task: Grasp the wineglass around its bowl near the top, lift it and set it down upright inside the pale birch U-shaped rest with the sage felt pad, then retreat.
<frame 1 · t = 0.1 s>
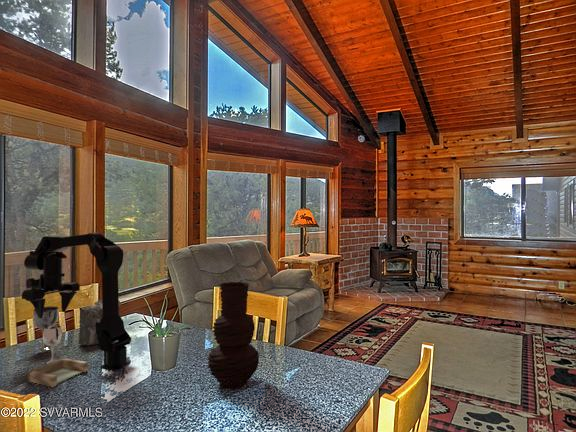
hand: (52, 314, 138), 14 cm above the table, fingers open, 9 cm apart
vase: (233, 384, 116), on the table
wine glass: (45, 349, 144), on the table
rock: (104, 339, 157), on the table
u rest: (58, 376, 120), on the table
wineglass: (52, 363, 131), on the table
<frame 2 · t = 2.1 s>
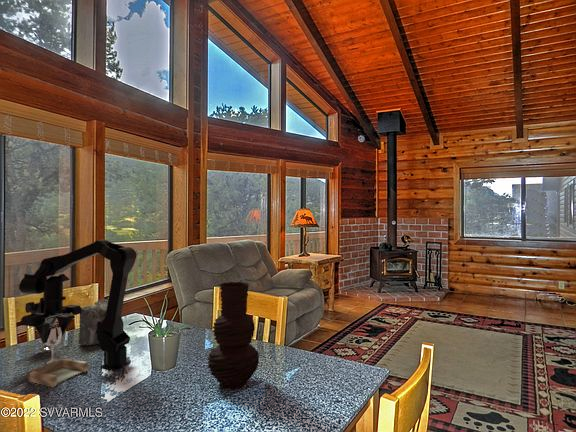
hand: (52, 340, 131), 8 cm above the table, fingers closed on wineglass, 6 cm apart
wineglass: (52, 363, 131), on the table, touching gripper
everything else where it was.
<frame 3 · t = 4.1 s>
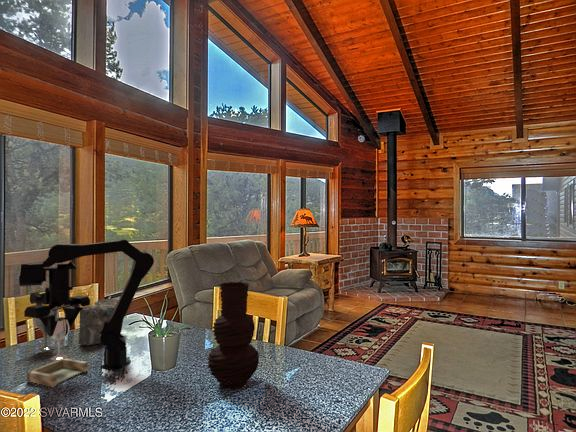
hand: (59, 333, 122), 13 cm above the table, fingers closed on wineglass, 6 cm apart
wineglass: (59, 358, 122), point 5 cm above the table, touching gripper
everything else where it was.
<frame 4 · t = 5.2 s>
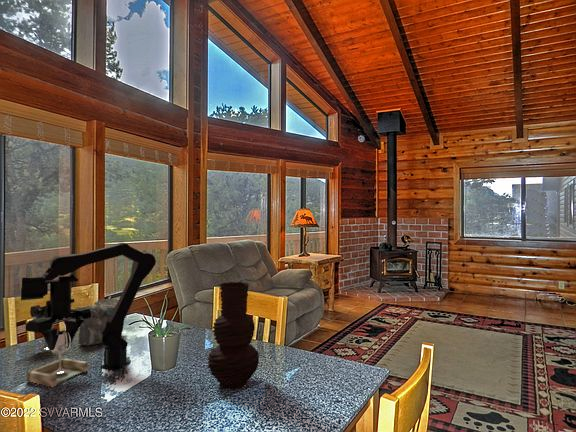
hand: (60, 346, 120), 9 cm above the table, fingers closed on wineglass, 6 cm apart
wineglass: (60, 371, 120), point 1 cm above the table, touching gripper
everything else where it was.
when the fingers open (9 cm above the table, at t = 6.1 s): wineglass stays where it is, resting on u rest.
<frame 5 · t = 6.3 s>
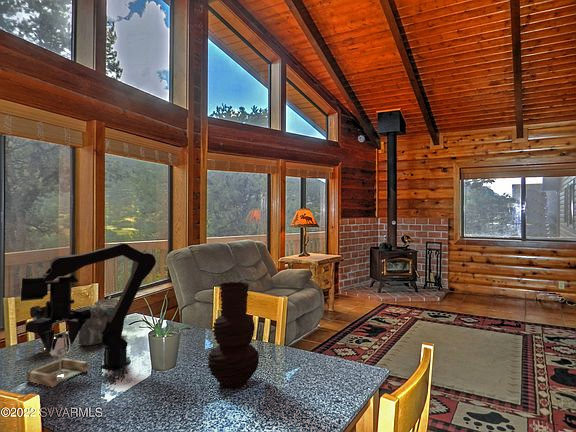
hand: (60, 347, 120), 9 cm above the table, fingers open, 8 cm apart
wineglass: (60, 375, 120), resting on u rest
everything else where it was.
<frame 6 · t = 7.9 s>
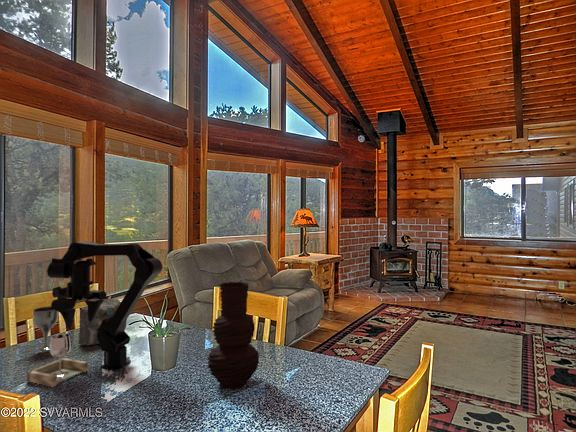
hand: (80, 325, 131), 13 cm above the table, fingers open, 9 cm apart
nothing on the table moved.
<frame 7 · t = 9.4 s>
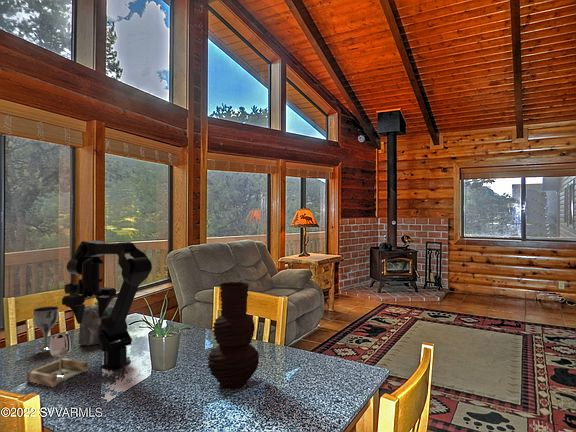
hand: (90, 320, 136), 13 cm above the table, fingers open, 9 cm apart
nothing on the table moved.
at the end: wineglass inside the target area on the u rest (0.1 cm from its centre), point 0.4 cm above the u rest's base; wineglass tilted 0°; the gripper is holding nothing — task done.
